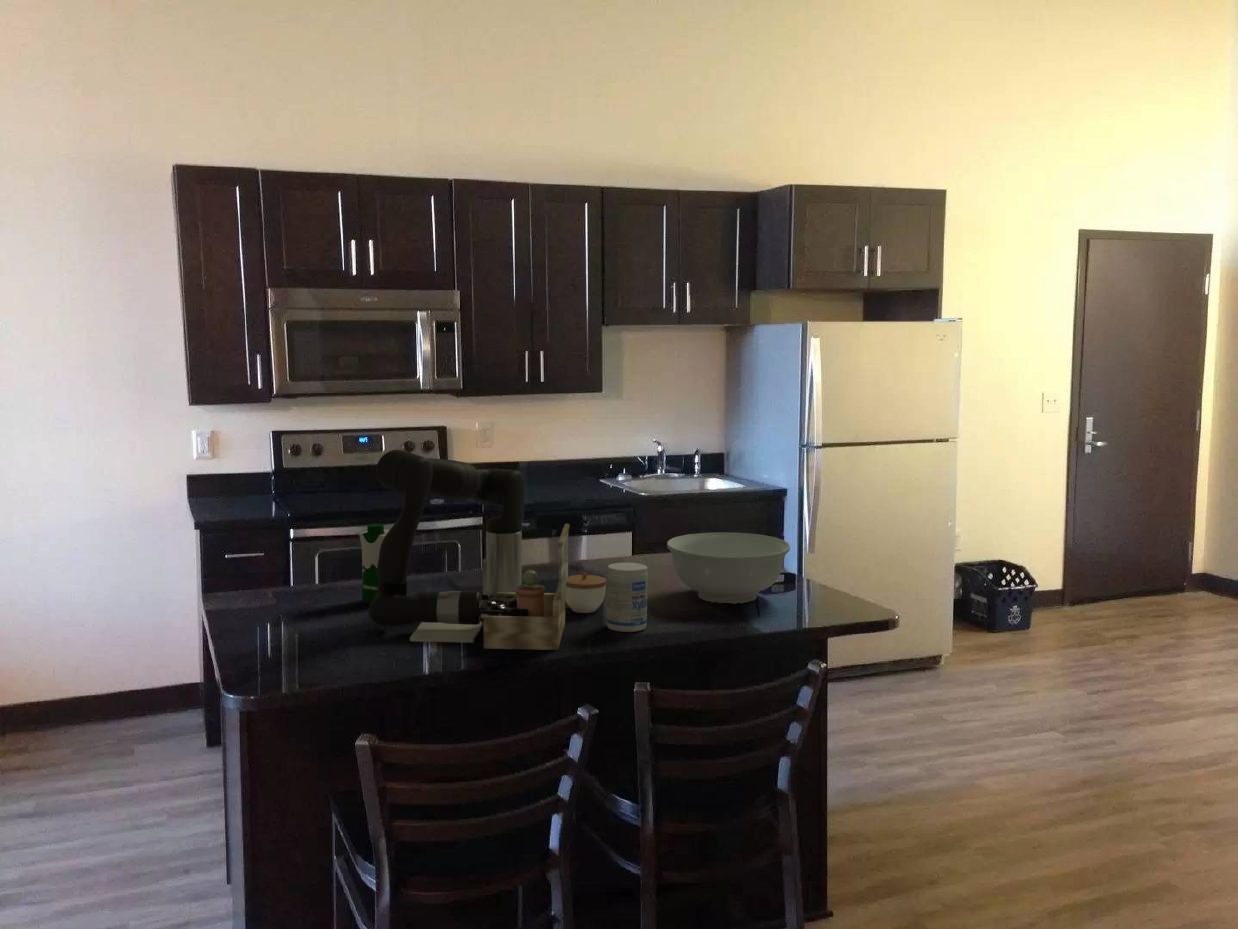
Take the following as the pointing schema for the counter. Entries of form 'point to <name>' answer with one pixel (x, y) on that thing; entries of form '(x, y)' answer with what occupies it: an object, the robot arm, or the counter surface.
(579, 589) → the lidded jar
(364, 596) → the milk carton
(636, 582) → the supplement tub
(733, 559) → the bowl
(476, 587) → the counter surface
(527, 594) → the terracotta pot
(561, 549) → the cold frame
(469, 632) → the paving slab
